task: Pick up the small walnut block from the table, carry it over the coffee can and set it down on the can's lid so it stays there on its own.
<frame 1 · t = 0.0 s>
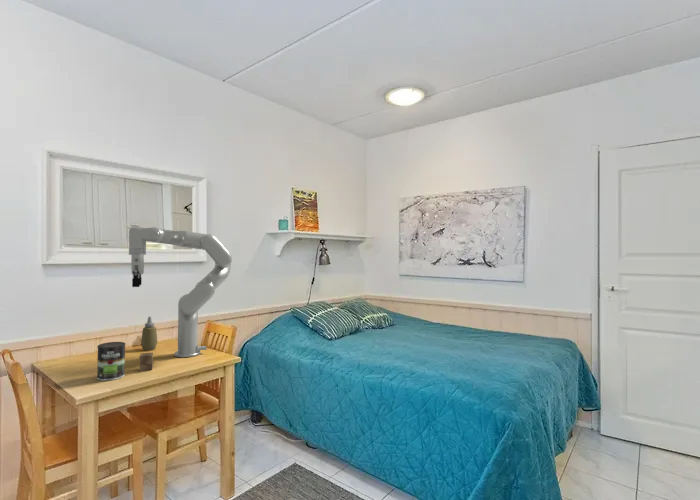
hand: (136, 285, 192), 37 cm above the table, tool pointing down, fingers open, 9 cm apart
squeeze bottle: (149, 349, 211), on the table
coffee can: (111, 377, 166), on the table
walnut block: (146, 369, 176), on the table
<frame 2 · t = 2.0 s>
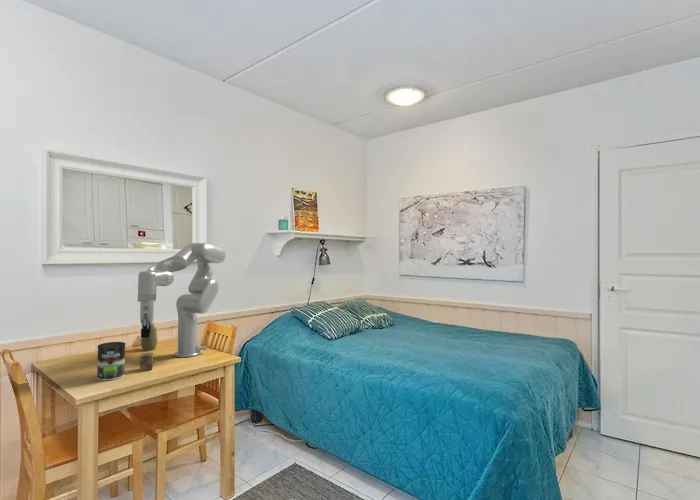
hand: (145, 335, 176), 16 cm above the table, tool pointing down, fingers open, 9 cm apart
nothing on the table moved.
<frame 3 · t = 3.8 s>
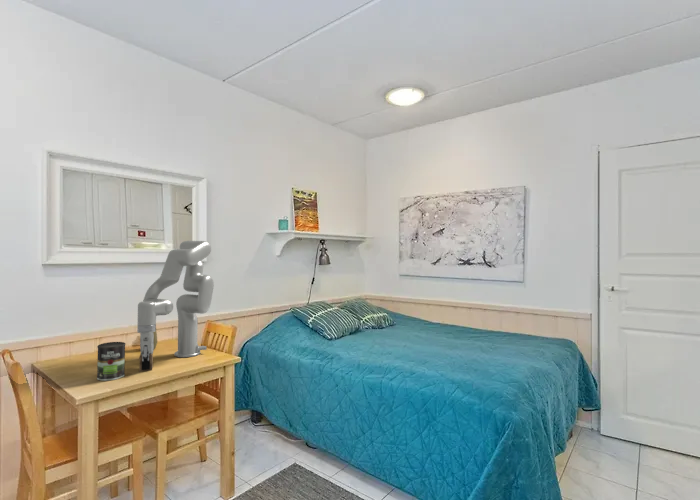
hand: (146, 367, 176), 1 cm above the table, tool pointing down, fingers closed on walnut block, 5 cm apart
walnut block: (146, 369, 176), on the table, touching gripper
everything else where it was.
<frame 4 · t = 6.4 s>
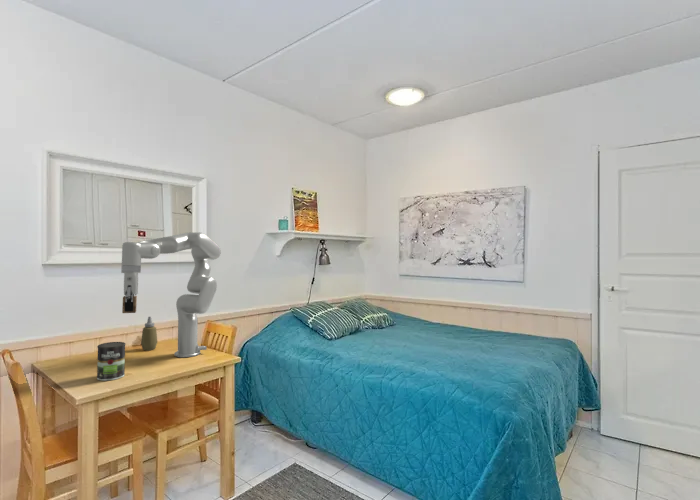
hand: (129, 310, 171), 28 cm above the table, tool pointing down, fingers closed on walnut block, 5 cm apart
walnut block: (129, 312, 171), point 27 cm above the table, touching gripper
everything else where it was.
when the fingers open (16 cm above the table, at t = 9.3 s): walnut block drops 1 cm, resting on coffee can.
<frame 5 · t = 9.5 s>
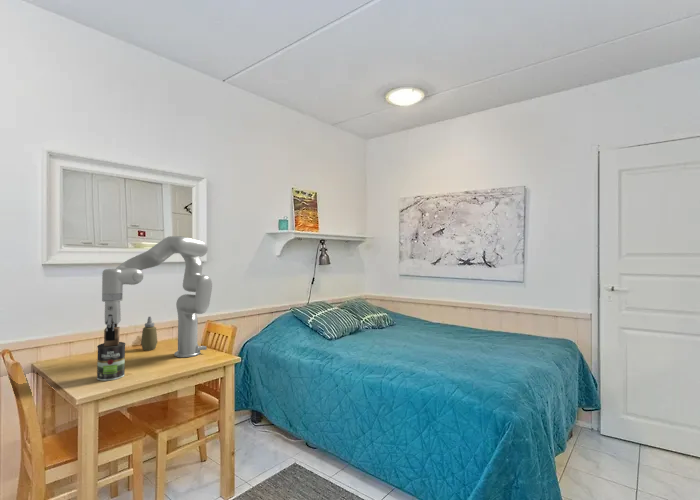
hand: (111, 338, 166), 17 cm above the table, tool pointing down, fingers open, 7 cm apart
coffee can: (111, 377, 166), on the table, touching walnut block
walnut block: (111, 344, 166), point 14 cm above the table, touching coffee can
everything else where it was.
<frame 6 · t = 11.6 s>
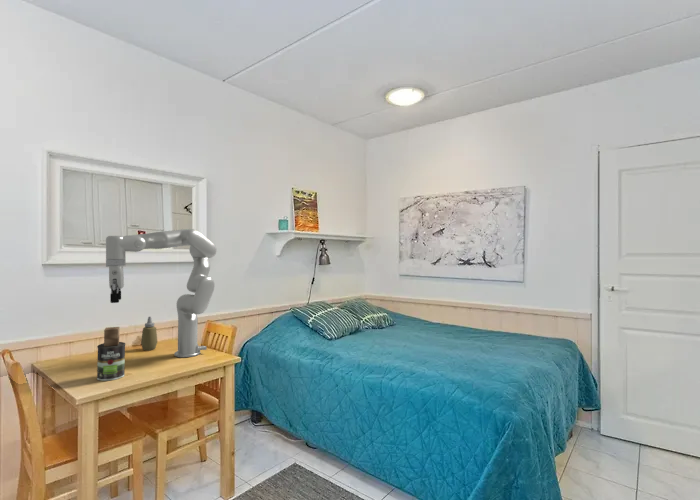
hand: (115, 301, 172), 32 cm above the table, tool pointing down, fingers open, 9 cm apart
nothing on the table moved.
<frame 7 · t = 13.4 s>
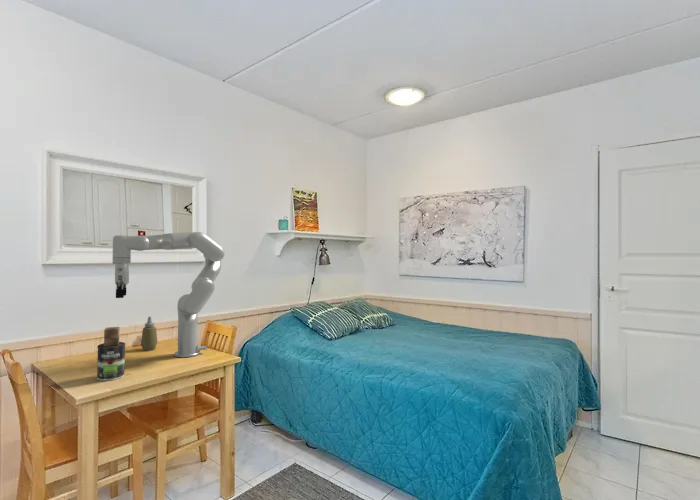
hand: (121, 296, 184), 32 cm above the table, tool pointing down, fingers open, 9 cm apart
nothing on the table moved.
at the end: walnut block inside the target area on the coffee can (0.1 cm from its centre), point 14.3 cm above the coffee can's base; walnut block tilted 0°; the gripper is holding nothing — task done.
